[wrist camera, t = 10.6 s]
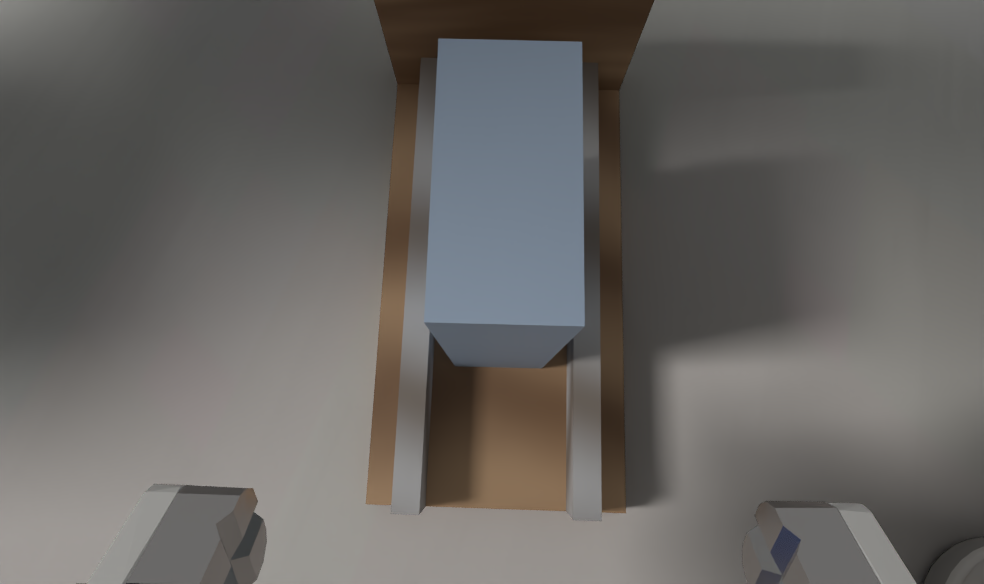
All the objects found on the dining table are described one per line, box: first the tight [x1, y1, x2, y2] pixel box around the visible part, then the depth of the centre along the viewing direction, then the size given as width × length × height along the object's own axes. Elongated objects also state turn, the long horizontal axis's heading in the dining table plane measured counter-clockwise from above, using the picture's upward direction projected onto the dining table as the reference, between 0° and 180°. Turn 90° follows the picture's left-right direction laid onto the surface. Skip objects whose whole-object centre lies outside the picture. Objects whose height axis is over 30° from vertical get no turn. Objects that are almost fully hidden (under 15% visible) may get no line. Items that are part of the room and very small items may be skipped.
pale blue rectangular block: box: [424, 38, 585, 368], centre depth 19 cm, size 7×4×11 cm, turn 179°
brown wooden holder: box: [366, 0, 654, 521], centre depth 19 cm, size 20×10×13 cm, turn 178°
